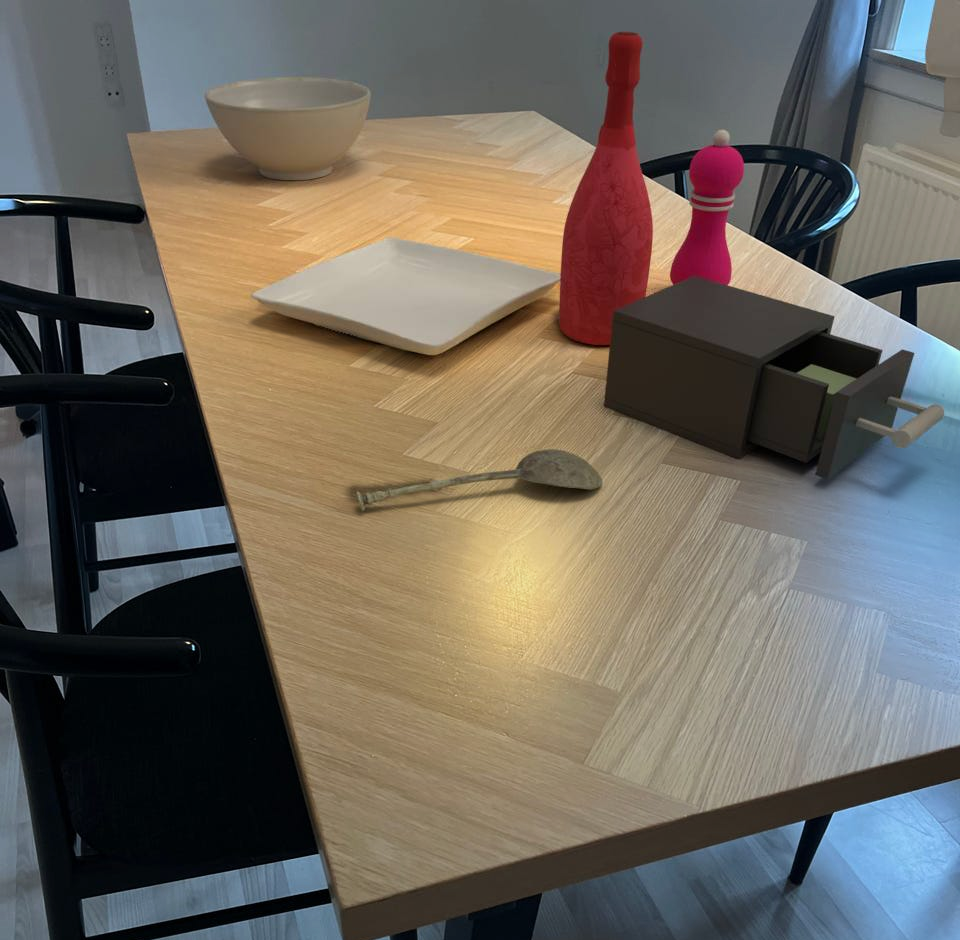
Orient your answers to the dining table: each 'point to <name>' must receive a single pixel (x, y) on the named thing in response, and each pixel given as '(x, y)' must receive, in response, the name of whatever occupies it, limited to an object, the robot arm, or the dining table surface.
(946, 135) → the robot arm
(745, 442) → the drawer cabinet
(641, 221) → the wine bottle
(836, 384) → the block
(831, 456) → the open drawer with handle
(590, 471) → the soupspoon
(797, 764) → the dining table surface
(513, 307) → the square plate
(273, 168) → the decorative bowl
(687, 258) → the pepper mill
